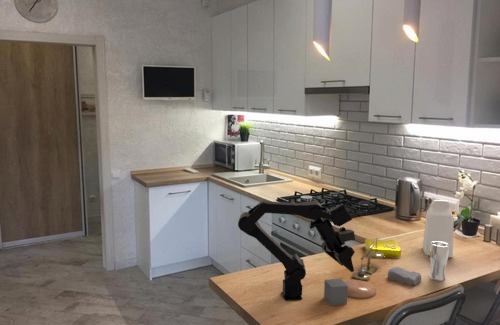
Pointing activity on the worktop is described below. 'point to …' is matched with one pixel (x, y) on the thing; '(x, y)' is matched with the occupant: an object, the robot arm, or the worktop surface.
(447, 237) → the milk
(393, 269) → the stone block
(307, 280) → the worktop surface
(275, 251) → the robot arm
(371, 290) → the peach round platter
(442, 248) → the beer glass
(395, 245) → the element tile
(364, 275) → the bronze balance
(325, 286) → the matte slate cube
